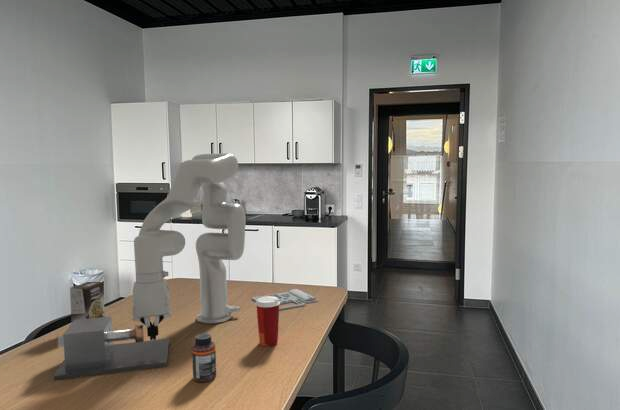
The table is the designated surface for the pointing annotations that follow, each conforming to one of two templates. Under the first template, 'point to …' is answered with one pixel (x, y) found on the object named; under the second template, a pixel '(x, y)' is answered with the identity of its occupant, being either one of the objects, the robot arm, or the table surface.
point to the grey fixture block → (106, 351)
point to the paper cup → (268, 320)
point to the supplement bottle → (204, 358)
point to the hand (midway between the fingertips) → (153, 338)
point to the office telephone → (292, 298)
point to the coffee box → (87, 301)
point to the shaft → (119, 335)
